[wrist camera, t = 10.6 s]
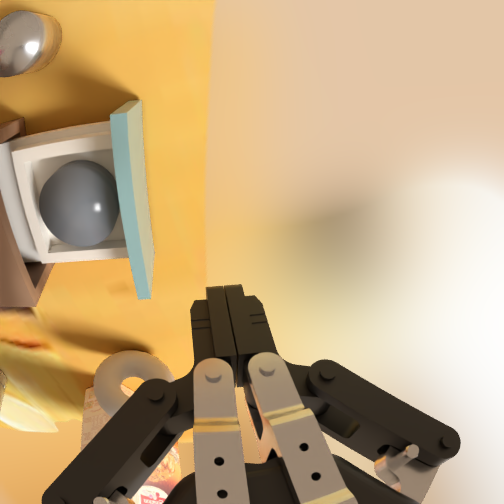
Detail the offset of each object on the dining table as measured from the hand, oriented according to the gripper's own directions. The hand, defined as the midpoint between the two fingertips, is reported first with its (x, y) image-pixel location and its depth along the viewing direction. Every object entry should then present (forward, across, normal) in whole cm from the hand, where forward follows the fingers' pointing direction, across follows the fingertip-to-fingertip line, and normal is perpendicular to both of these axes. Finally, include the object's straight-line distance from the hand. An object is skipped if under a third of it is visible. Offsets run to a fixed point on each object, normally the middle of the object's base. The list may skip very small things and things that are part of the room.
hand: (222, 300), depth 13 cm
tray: (+14, +13, 0) cm, 19 cm away
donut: (+14, +9, +22) cm, 28 cm away
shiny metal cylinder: (+14, +13, -13) cm, 23 cm away
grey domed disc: (+12, +10, 0) cm, 15 cm away
